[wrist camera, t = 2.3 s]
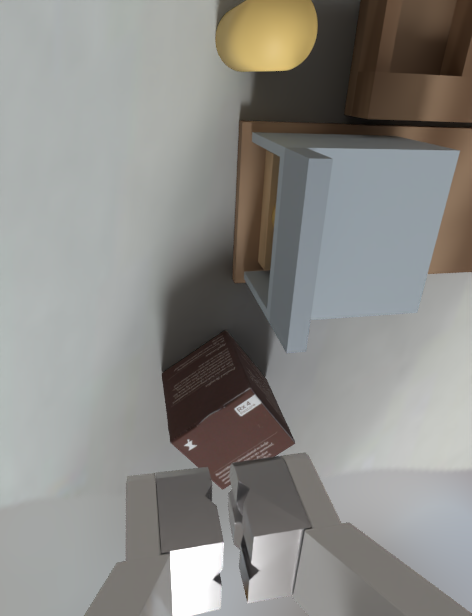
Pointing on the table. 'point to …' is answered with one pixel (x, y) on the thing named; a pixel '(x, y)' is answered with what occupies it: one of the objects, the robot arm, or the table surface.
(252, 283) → the cover
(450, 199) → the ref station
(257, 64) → the pin
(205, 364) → the box
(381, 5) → the board
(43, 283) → the table surface
